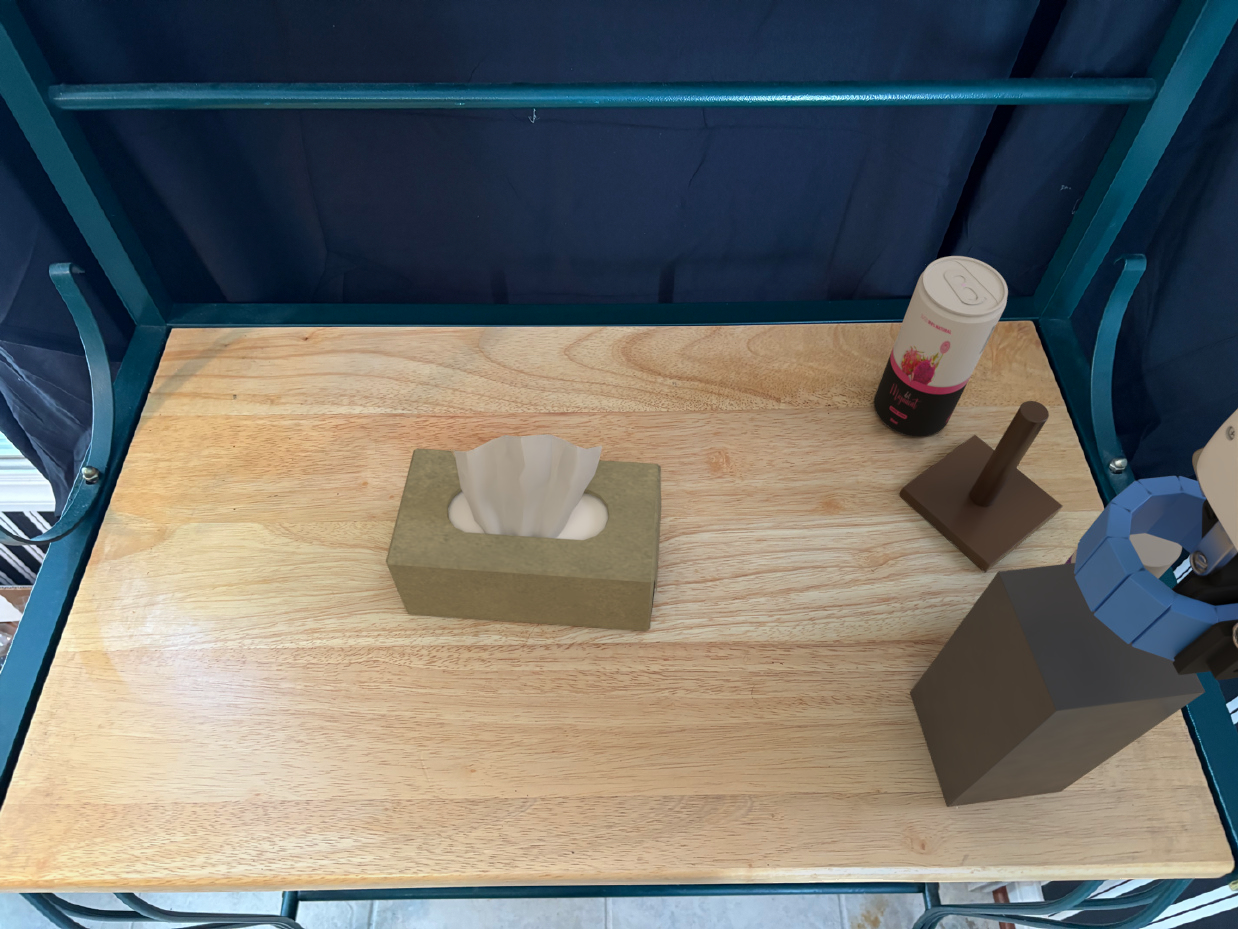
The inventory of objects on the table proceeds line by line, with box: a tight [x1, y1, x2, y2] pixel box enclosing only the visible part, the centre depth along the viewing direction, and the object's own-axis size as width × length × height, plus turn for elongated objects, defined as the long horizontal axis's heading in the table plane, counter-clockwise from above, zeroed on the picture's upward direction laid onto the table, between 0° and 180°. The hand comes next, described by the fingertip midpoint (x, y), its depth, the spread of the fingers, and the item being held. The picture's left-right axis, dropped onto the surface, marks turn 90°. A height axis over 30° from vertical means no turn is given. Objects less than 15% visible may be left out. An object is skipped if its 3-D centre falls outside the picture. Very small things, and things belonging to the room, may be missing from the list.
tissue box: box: [385, 433, 662, 632], centre depth 64 cm, size 19×10×16 cm, turn 86°
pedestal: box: [909, 563, 1206, 808], centre depth 56 cm, size 8×8×18 cm
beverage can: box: [873, 255, 1009, 438], centre depth 74 cm, size 6×6×15 cm
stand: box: [898, 400, 1063, 573], centre depth 69 cm, size 9×9×12 cm
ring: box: [1074, 475, 1238, 661], centre depth 42 cm, size 8×8×4 cm
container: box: [1064, 533, 1183, 580], centre depth 61 cm, size 5×5×15 cm
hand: (1194, 642), depth 41 cm, fingers closed on ring, 1 cm apart
